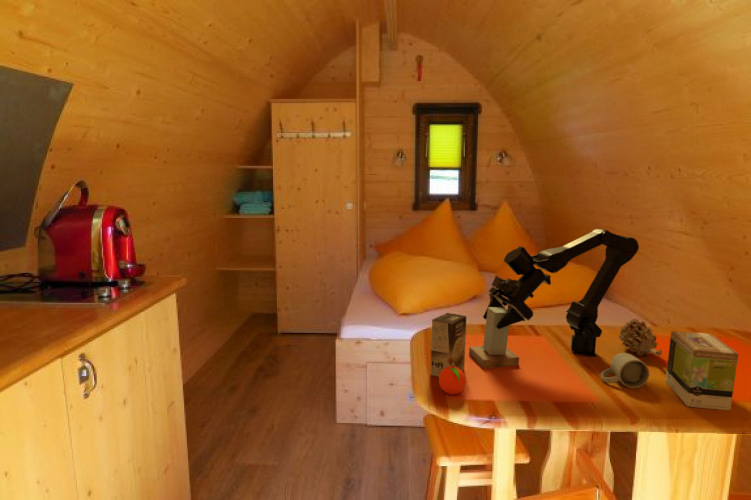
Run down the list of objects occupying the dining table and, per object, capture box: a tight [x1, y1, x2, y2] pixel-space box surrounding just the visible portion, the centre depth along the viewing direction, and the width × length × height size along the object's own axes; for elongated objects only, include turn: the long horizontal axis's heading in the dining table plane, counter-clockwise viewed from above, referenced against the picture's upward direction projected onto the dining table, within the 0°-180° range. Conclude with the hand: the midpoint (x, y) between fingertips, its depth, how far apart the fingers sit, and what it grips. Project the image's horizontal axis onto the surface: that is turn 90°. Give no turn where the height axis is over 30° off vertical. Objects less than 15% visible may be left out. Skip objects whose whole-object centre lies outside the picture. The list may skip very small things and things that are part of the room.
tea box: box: [665, 330, 739, 411], centre depth 126 cm, size 15×10×15 cm, turn 168°
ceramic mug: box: [600, 352, 650, 389], centre depth 135 cm, size 11×8×8 cm
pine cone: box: [618, 318, 663, 357], centre depth 152 cm, size 22×10×10 cm, turn 2°
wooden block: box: [482, 306, 510, 355], centre depth 149 cm, size 5×5×13 cm
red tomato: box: [438, 366, 467, 395], centre depth 128 cm, size 8×7×7 cm
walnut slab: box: [468, 345, 520, 369], centre depth 151 cm, size 11×11×3 cm
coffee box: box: [430, 312, 467, 378], centre depth 140 cm, size 9×6×16 cm
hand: (490, 323), depth 148 cm, fingers open, 9 cm apart
